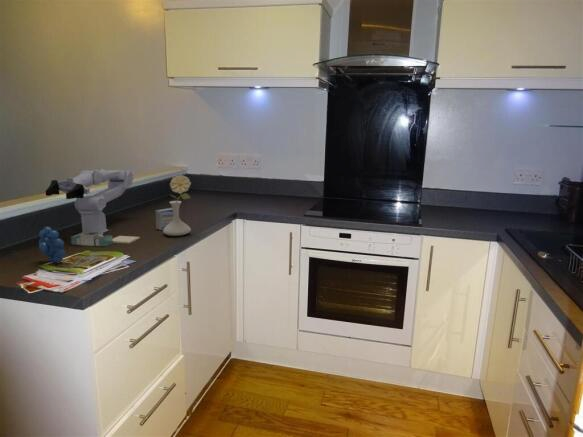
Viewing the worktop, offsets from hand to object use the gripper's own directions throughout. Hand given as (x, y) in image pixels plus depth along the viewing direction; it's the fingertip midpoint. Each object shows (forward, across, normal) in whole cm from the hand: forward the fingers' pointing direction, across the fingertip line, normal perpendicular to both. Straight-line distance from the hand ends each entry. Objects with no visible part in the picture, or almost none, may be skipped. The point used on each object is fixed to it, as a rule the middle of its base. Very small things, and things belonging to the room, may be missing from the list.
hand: (56, 194), depth 155 cm
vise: (-2, +12, +19) cm, 22 cm away
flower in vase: (-19, +39, +18) cm, 47 cm away
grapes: (+22, +11, +15) cm, 29 cm away
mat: (-8, +21, +18) cm, 29 cm away
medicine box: (-29, +31, +20) cm, 47 cm away
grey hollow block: (-2, +12, +19) cm, 22 cm away
